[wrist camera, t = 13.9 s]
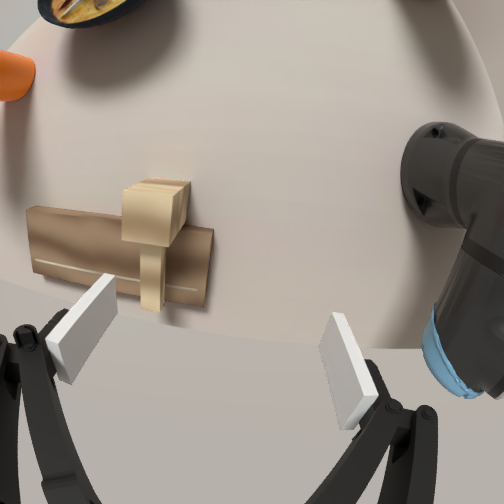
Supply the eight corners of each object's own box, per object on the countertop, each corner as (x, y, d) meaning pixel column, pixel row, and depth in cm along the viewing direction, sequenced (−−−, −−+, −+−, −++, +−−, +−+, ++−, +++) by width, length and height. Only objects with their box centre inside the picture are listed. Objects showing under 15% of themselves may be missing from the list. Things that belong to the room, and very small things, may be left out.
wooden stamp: (151, 177, 33) (123, 190, 24) (190, 181, 33) (173, 196, 25) (146, 281, 38) (124, 318, 30) (180, 287, 38) (166, 326, 30)
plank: (35, 205, 33) (25, 210, 30) (213, 229, 35) (211, 235, 33) (41, 265, 36) (32, 272, 34) (205, 297, 39) (203, 307, 37)
